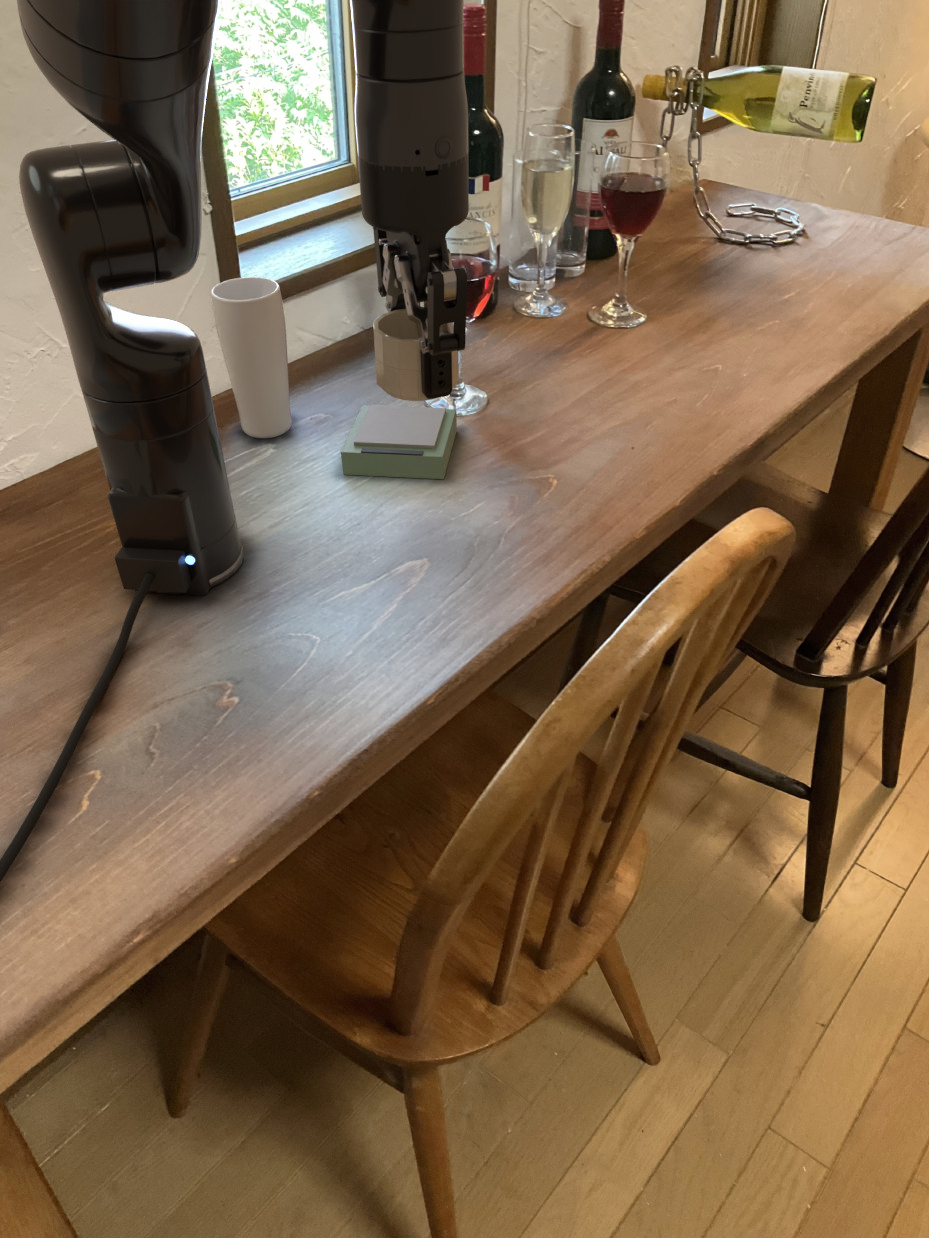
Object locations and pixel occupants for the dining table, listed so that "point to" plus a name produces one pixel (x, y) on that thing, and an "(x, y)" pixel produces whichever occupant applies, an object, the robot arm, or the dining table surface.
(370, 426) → the scale
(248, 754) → the dining table surface
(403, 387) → the beige cup
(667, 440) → the dining table surface
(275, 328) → the drinking glass
